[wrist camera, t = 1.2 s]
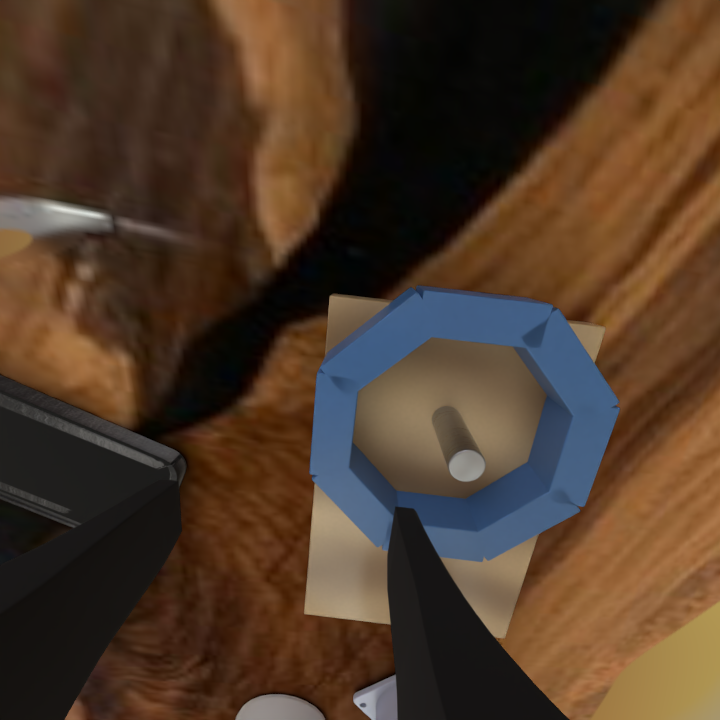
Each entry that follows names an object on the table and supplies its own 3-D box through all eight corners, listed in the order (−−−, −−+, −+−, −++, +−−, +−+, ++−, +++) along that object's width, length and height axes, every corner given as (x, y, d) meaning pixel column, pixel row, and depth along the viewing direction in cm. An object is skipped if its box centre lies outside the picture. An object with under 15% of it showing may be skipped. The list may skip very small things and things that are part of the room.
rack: (498, 621, 25) (534, 724, 19) (307, 597, 25) (287, 694, 19) (592, 322, 18) (685, 351, 13) (332, 293, 18) (314, 308, 13)
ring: (613, 307, 17) (655, 316, 14) (539, 534, 21) (561, 572, 18) (331, 275, 17) (323, 278, 14) (312, 507, 21) (304, 541, 18)
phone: (-72, 359, 19) (181, 467, 20) (-48, 354, 20) (191, 457, 21) (-82, 467, 21) (146, 558, 23) (-60, 457, 22) (157, 545, 24)
